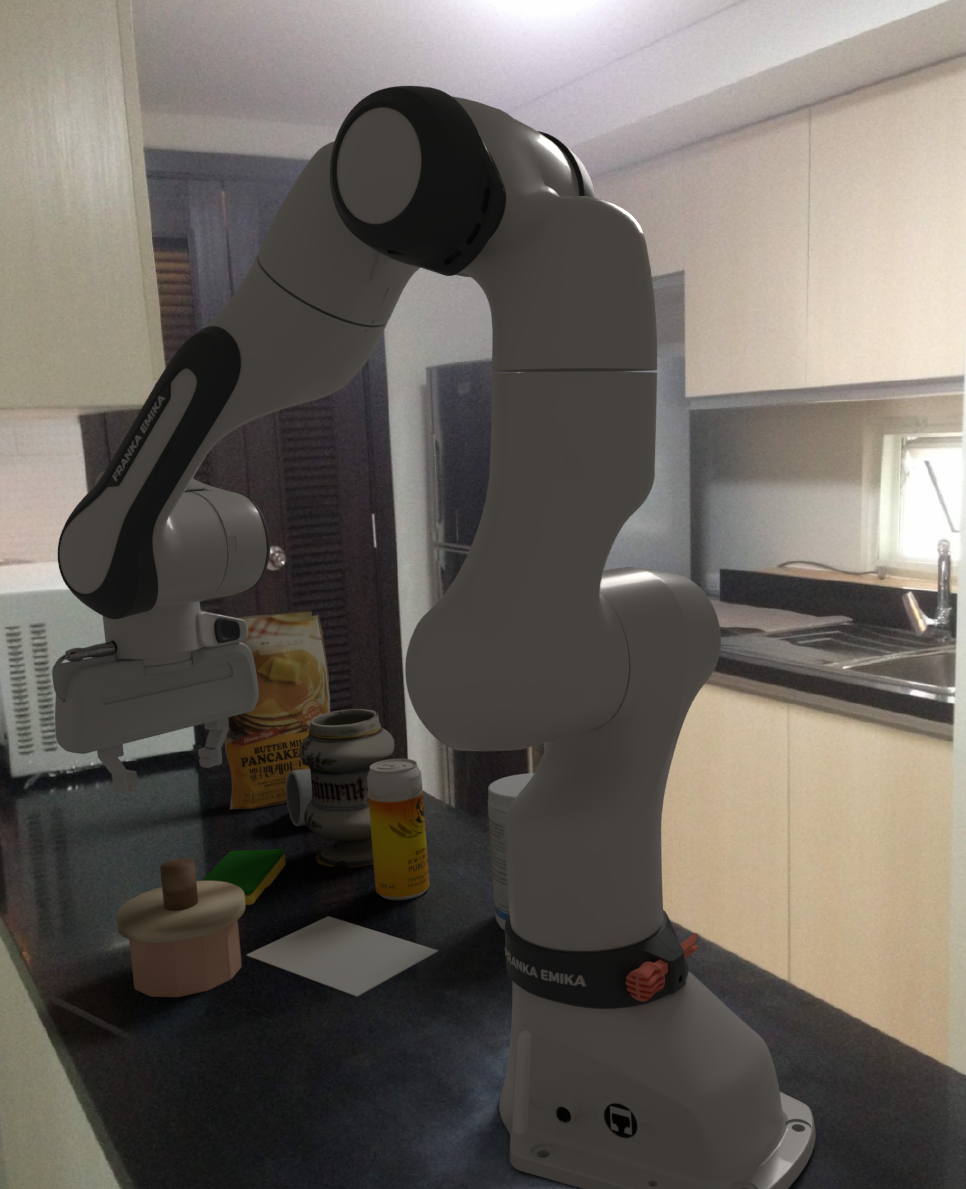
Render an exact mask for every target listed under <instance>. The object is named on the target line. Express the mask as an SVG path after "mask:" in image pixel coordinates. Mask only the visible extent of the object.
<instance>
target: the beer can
mask: <svg viewBox="0 0 966 1189" xmlns="http://www.w3.org/2000/svg"><path fill="white" fill-rule="evenodd" d="M422 778H423V777H422V771H421V769H420V767H419V766H418V762H417V761H416V760H414V759H409V758H389V759H387V760H383V761H379V762H376V763H374V764H372V765H371V766H370V770H369V773H368V775H367V785H368V798H369V811H370V823H371V836H372V848H373V861H374V864H373V872H374V881H375V882H374V884H375V886H374V887H375V892H376V893H377V894H378V895H379V896H381V897H382V898H384V899H386V900H390V901H405V900H406V901H407V900H412V899H415V898H418V897H420V896H422V895H423V894H424V893H425V892H426V891H427V890H428V888H429V887H430V873H429V860H428V859H429V858H428V845H427V833H426V820H425V819H426V818H425V805H424V803H425V802H424V792H423V779H422Z"/></svg>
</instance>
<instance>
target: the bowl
mask: <svg viewBox="0 0 966 1189" xmlns="http://www.w3.org/2000/svg"><path fill="white" fill-rule="evenodd" d="M238 921H239V919H238V920H236V921H235V922H233V923H232V924H230V925H228V926H227V927H225V928H222V929H220V930H218V931H215V932H213V933H210V934H207V935H204V936H200V937H196V938H192V939H187V940H182V941H175V942H164V943H146V942H138V941H133V940H130V939H128V941H129V949H130V959H131V961H130V962H131V968H132V969H131V970H132V979H133V989H134V990H136V991H138V992H140V993H143V994H145V995H146V996H149V997H154V998H156V997H159V998H167V997H168V998H180V997H184V996H185V997H186V996H189V995H190V996H191V995H195V994H198V993H202V992H203V993H204V992H207V991H209V990H212V989H215V988H216V987H218V986H221V985H222V984H224V983H226V982H229V981H230V980H232V979H233V978H234V977H235V975H236V974H237V973H238V972H239V971H240V969H241V968H242V967H243V964H242V954H241V943H240V941H241V940H240V931H239V922H238Z"/></svg>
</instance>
